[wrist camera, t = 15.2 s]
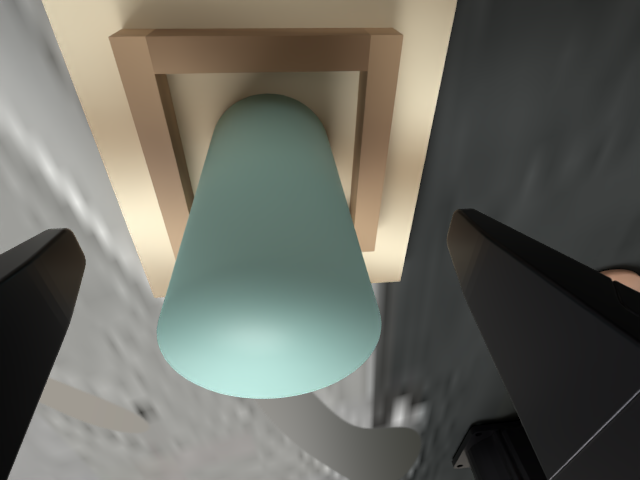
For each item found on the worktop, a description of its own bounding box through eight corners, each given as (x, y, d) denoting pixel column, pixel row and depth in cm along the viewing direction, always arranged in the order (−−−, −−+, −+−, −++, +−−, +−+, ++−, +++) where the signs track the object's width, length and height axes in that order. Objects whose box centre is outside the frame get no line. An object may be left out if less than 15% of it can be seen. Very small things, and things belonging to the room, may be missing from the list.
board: (395, 268, 16) (406, 298, 15) (159, 283, 15) (147, 317, 14) (464, -102, 9) (500, -111, 8) (17, -116, 8) (-37, -128, 7)
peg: (327, 199, 13) (370, 389, 7) (221, 204, 13) (184, 406, 7) (330, 92, 11) (395, 251, 5) (201, 94, 10) (125, 266, 5)
